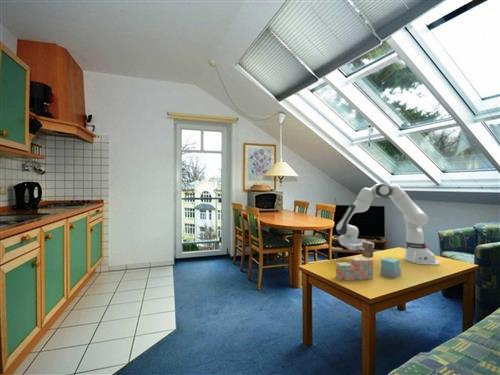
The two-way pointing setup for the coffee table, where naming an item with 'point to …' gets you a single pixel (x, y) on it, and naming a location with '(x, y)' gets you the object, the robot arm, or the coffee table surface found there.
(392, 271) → the tower base
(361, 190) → the robot arm
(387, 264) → the tower top
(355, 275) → the stack of blocks
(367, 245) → the walnut block
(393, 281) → the coffee table surface
